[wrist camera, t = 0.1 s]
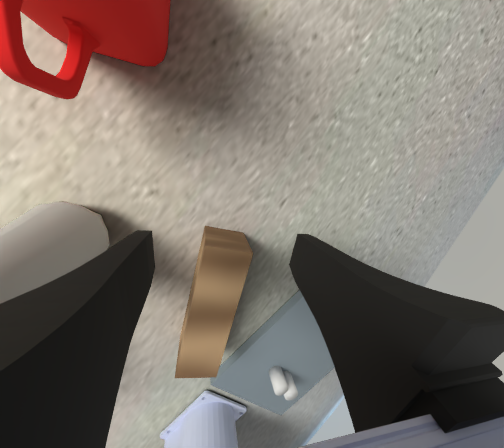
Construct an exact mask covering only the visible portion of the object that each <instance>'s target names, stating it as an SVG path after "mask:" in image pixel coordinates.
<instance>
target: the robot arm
mask: <svg viewBox="0 0 504 448" xmlns="http://www.w3.org/2000/svg"><path fill="white" fill-rule="evenodd" d="M289 265H290V268H291V271H292V274H293V277H294V279H295V282H296V284H297V286H298V288H299V289H300V291H301V293H302V295H303V297H304V299H305V301H306V303H307V304H308V306H309V308H310V310H311V312H312V314H313V316H314V318H315V320H316V322H317V324H318V326H319V328H320V331H321V333H322V336H323V338H324V340H325V343H326V345H327V348H328V351H329V353H330V356H331V359H332V361H333V364H334V367H335V370H336V372H337V375H338V378H339V381H340V384H341V387H342V390H343V393H344V396H345V399H346V403H347V406H348V409H349V412H350V416H351V419H352V423H353V426H354V429H355V433H353V434H349V435H345V436H341V437H337V438H333V439H329V440H326V441H322V442H317V443H314V444H310V445H306V446H302V447H298V448H504V383H503V382H502V381H501V380H500V379H499V378H498V377H500V376H501V375H502V371H500V370H499V369H498V368H497V367H496V366H495V365H494V364H492V362H493V361H494V360H495V359H496V358H497V357H498V356H499V355H500V354H501V353H502V352H504V311H503V310H501V309H499V308H497V307H495V306H492V305H489V304H485V303H481V302H477V301H473V300H469V299H465V298H461V297H457V296H453V295H449V294H446V293H442V292H439V291H436V290H432V289H429V288H426V287H423V286H420V285H416V284H414V283H411V282H408V281H405V280H402V279H400V278H397V277H394V276H392V275H389V274H387V273H385V272H382V271H380V270H378V269H375V268H373V267H371V266H369V265H366V264H364V263H362V262H360V261H358V260H356V259H354V258H352V257H350V256H349V255H347V254H345V253H343V252H341V251H339V250H338V249H336V248H334V247H332V246H330V245H329V244H327V243H325V242H323V241H321V240H319V239H318V238H316V237H314V236H311V235H309V234H297V238H296V242H295V246H294V249H293V253H292V257H291V260H290V264H289ZM154 269H155V261H154V250H153V238H152V231H139V230H137V231H135V232H134V233H132V234H130V235H129V236H127V237H126V238H124V239H123V240H122V241H120V242H119V243H117V244H116V245H114V246H112V247H111V248H109V249H108V250H106V251H105V252H103V253H102V254H100V255H98V256H97V257H95V258H93V259H92V260H90V261H88V262H86V263H85V264H83V265H81V266H80V267H78V268H76V269H74V270H72V271H71V272H69V273H67V274H65V275H63V276H61V277H59V278H57V279H55V280H53V281H51V282H49V283H47V284H44V285H42V286H40V287H38V288H36V289H33V290H31V291H29V292H26V293H24V294H22V295H19V296H17V297H15V298H12V299H10V300H8V301H5V302H3V303H1V304H0V448H105V446H106V441H107V437H108V432H109V428H110V424H111V419H112V415H113V410H114V406H115V402H116V397H117V393H118V389H119V385H120V381H121V377H122V373H123V369H124V365H125V361H126V357H127V354H128V350H129V346H130V342H131V339H132V336H133V333H134V330H135V328H136V325H137V322H138V320H139V317H140V314H141V312H142V309H143V306H144V304H145V301H146V298H147V295H148V293H149V290H150V287H151V283H152V279H153V274H154ZM246 411H247V408H246V406H244V405H241V404H239V403H237V402H234V401H232V400H229V399H227V398H225V397H222V396H220V395H217V394H215V393H213V392H210V391H204V392H203V393H202V394H201V395H200V396H199V397H198V398H197V399H196V400H195V401H194V402H193V403H192V404H191V405H189V406H188V407H187V408H186V409H185V410H184V411H183V412H182V413H181V414H180V415H179V416H178V417H177V418H176V419H175V420H174V421H173V422H172V423H171V424H170V425H169V426H168V427H166V428H165V429H164V430H163V431H162V432H161V433H160V438H161V439H164V440H165V445H164V448H238V441H237V433H236V425H235V421H236V420H238V419H239V418H240V417H241V416H242V415H243V414H244V413H245V412H246Z"/></svg>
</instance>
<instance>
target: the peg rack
mask: <svg viewBox="0 0 504 448" xmlns="http://www.w3.org/2000/svg"><path fill="white" fill-rule="evenodd" d="M333 368H334V364H333V361H332V359H331V356H330V353H329V351H328V348H327V345H326V343H325V340H324V338H323V336H322V333H321V331H320V328H319V326H318V324H317V322H316V320H315V318H314V316H313V314H312V312H311V310H310V308H309V306H308V304H307V303H306V301H305V299H304V297H303V295H302V293H301V291H300V290H299V291H298V292H297V293H296V294H295V295H293V296H292V297H291V298H290V299H289V300H288V301H287V302H286V303H285V304H284V305H283V306H282V307H281V308H280V309H279V310H278V311H277V312H276V313H275V314H274V315H273V316H272V317H271V318H270V319H269V320H267V321H266V322H265V323H264V324H263V325H262V326H261V327H260V328H259V329H258V330H257V331H256V332H255V333H254V334H253V335H252V336H251V337H250V338H249V339H248V340H247V341H246V342H245V343H244V344H243V345H241V346H240V347H239V348H238V349H237V350H236V351H235V352H234V353H233V354H232V355H231V356H230V357H229V358H228V359H227V360H226V361H225V362H224V363H223V364H222V365H221V366H220V367H219V370H218V373H217V376H216V377H210V378H211V385H212V386H214V387H217V388H219V389H221V390H224V391H226V392H228V393H231V394H233V395H235V396H237V397H240V398H242V399H244V400H247V401H249V402H251V403H254V404H256V405H258V406H260V407H263V408H265V409H267V410H270V411H272V412H274V413H276V414H279V415H282V414H283V413H284V412H285V411H287V410H288V409H289V408H290V407H291V406H292V405H293V404H294V403H295V402H297V401H298V400H299V399H300V398H301V397H302V396H303V395H304V394H305V393H307V392H308V391H309V390H310V389H311V388H312V387H313V386H314V385H315V384H317V383H318V382H319V381H320V380H321V379H322V378H323V377H324V376H325V375H327V374H328V373H329V372H330V371H331V370H332V369H333Z"/></svg>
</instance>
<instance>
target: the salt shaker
mask: <svg viewBox="0 0 504 448" xmlns="http://www.w3.org/2000/svg"><path fill="white" fill-rule="evenodd" d="M108 246H109V236H108V230H107V228H106V226H105V224H104V221H103V219H102V216H101V215H100V214H97V213H95V212H93V211H90V210H89V209H87V208H85V207H83V206H80V205H76V204H72V203H68V202H64V201H59V202H52V203H45V204H39V205H36V206H35V207H33V208H32V209H30V210H29V211H27V212H25V213H24V214H22V215H21V216H19V217H18V218H16V219H14V220H13V221H11V222H10V223H8V224H6V225H5V226H3V227H1V228H0V304H1V303H3V302H5V301H8V300H10V299H12V298H15V297H17V296H19V295H22V294H24V293H26V292H29V291H31V290H33V289H36V288H38V287H40V286H42V285H44V284H47V283H49V282H51V281H53V280H55V279H57V278H59V277H61V276H63V275H65V274H67V273H69V272H71V271H72V270H74V269H76V268H78V267H80V266H81V265H83V264H85V263H86V262H88V261H90V260H92V259H93V258H95V257H97V256H98V255H100V254H102V253H103V252H105V251H106V250H107V248H108Z"/></svg>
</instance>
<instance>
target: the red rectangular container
mask: <svg viewBox="0 0 504 448" xmlns="http://www.w3.org/2000/svg"><path fill="white" fill-rule="evenodd" d="M20 11H21V12H22V13H24V14H25V15H26V16H27V17H29V18H30V19H31V20H33V21H34V22H35V23H36V24H38V25H39V26H40V27H42V28H43V29H44V30H45V31H47V32H48V33H49V34H51V35H52V36H53V37H55V38H57V39H59V40H60V41H62V42H64V43H66V44H68V46H67V54H66V58H65V60H64V63H63V65H62V68H61V70H60V72H59V73H58V74H57V75H56V76H54V75H52V74H49V73H47V72H45V71H43V70H41V69H39V68H37V67H35V66H34V65H33V64H32V63H31V61H30V60H29V58H28V56H27V54H26V51H25V49H24V45H23V38H22V27H21V16H20ZM169 14H170V0H0V69H1V70H2V71H3V72H4V73H5V74H6V75H7V76H9V77H10V78H11V79H13V80H14V81H16V82H19V83H21V84H24V85H26V86H29V87H32V88H34V89H37V90H39V91H42V92H44V93H47V94H50V95H52V96H55V97H58V98H63V99H73V98H75V97H76V96H77V94H78V92H79V90H80V88H81V85H82V82H83V79H84V76H85V73H86V70H87V67H88V64H89V61H90V58H91V55H92V52H96V53H99V54H103V55H106V56H110V57H113V58H117V59H120V60H124V61H127V62H131V63H134V64H138V65H141V66H156V65H157V64H159V63H160V62H162V61H163V60H164V57H165V54H166V51H167V46H168V30H169Z"/></svg>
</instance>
